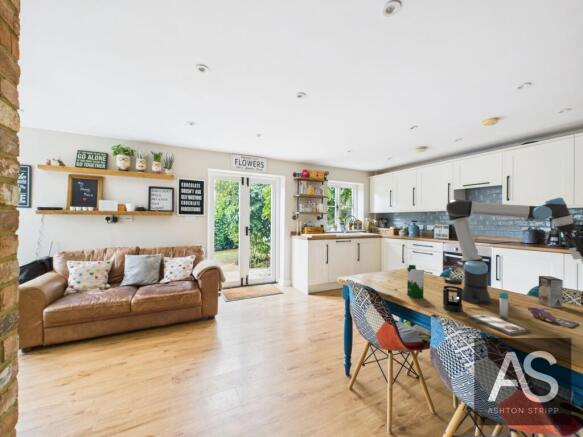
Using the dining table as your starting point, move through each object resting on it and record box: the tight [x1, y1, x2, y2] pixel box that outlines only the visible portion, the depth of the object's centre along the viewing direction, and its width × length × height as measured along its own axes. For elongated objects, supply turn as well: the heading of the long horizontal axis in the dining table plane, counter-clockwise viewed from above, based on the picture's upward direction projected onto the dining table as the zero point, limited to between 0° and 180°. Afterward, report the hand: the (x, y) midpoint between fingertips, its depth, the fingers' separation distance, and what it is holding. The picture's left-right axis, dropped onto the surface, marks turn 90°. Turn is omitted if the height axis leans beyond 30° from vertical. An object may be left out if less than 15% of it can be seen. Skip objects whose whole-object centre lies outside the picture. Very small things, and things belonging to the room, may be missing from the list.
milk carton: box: [406, 264, 425, 299], centre depth 162 cm, size 9×9×20 cm
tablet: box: [466, 313, 532, 336], centre depth 119 cm, size 20×12×1 cm, turn 13°
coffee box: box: [538, 275, 564, 308], centre depth 148 cm, size 9×6×16 cm
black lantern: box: [442, 267, 464, 314], centre depth 139 cm, size 12×9×23 cm
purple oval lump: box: [527, 305, 557, 323], centre depth 127 cm, size 10×5×7 cm, turn 5°
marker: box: [498, 291, 509, 321], centre depth 126 cm, size 3×3×13 cm
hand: (581, 260), depth 139 cm, fingers open, 13 cm apart
